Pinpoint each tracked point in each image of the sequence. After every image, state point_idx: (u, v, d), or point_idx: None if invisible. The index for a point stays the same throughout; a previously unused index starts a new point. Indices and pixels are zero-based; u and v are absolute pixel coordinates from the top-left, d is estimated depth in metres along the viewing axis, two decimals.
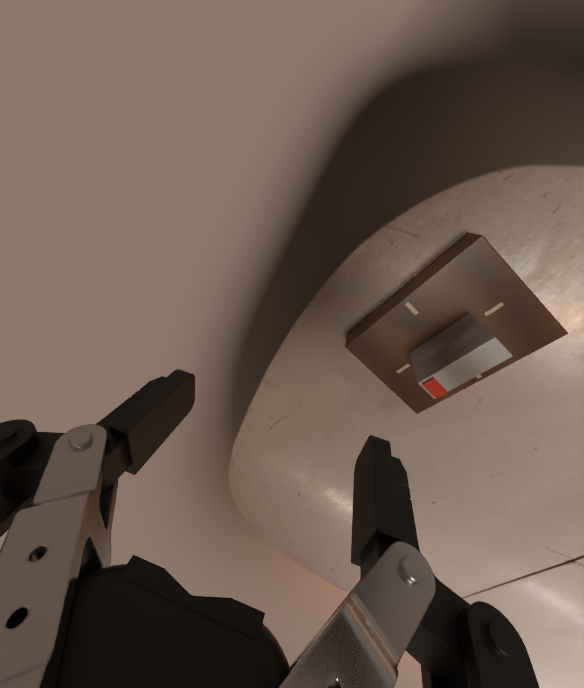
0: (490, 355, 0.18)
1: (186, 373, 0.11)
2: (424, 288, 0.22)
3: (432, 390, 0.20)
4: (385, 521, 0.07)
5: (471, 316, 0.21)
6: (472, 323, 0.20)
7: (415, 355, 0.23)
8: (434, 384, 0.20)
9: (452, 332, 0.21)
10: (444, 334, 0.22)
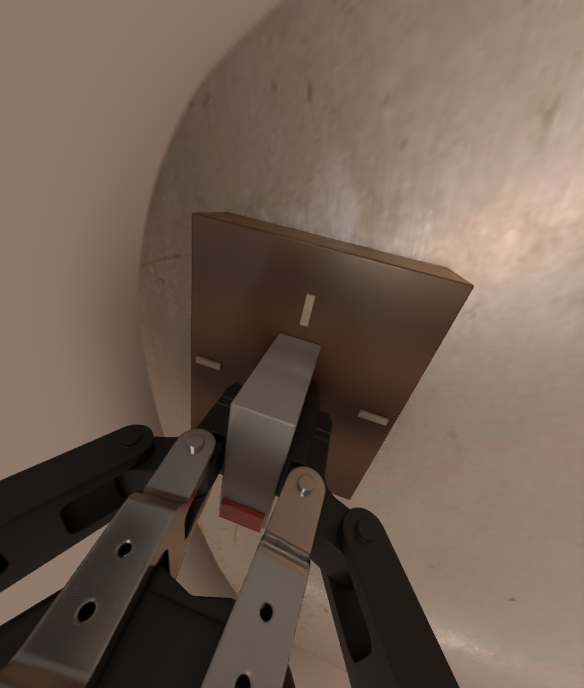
0: (258, 438, 0.08)
1: None
2: (198, 329, 0.13)
3: (238, 520, 0.10)
4: (297, 453, 0.09)
5: (273, 342, 0.11)
6: None
7: None
8: (232, 511, 0.10)
9: None
10: None
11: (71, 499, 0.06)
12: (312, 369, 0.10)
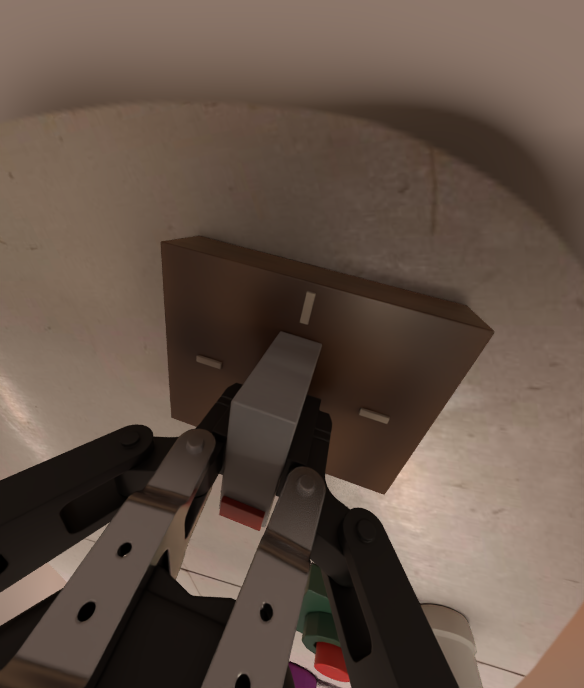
0: (259, 436, 0.08)
1: None
2: (354, 304, 0.10)
3: (238, 518, 0.10)
4: (297, 453, 0.09)
5: (274, 340, 0.11)
6: None
7: None
8: (232, 510, 0.10)
9: None
10: None
11: (71, 499, 0.06)
12: (313, 367, 0.10)
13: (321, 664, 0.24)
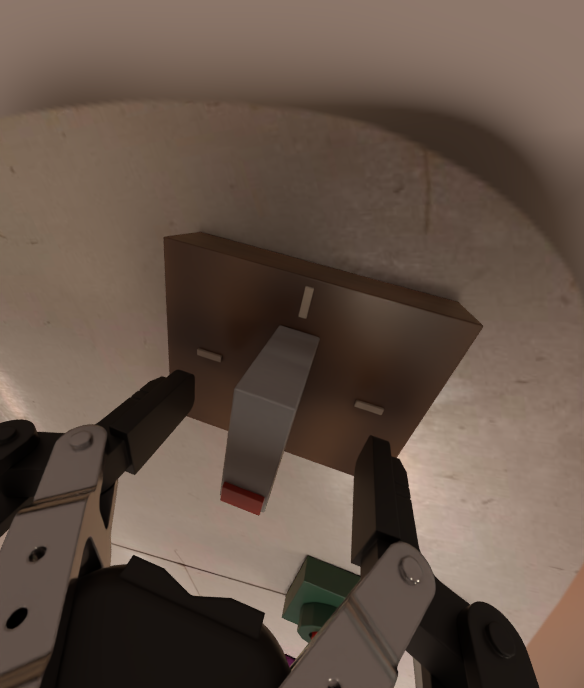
0: (260, 422, 0.08)
1: (186, 373, 0.11)
2: (351, 299, 0.11)
3: (239, 504, 0.10)
4: (385, 521, 0.07)
5: (273, 334, 0.11)
6: None
7: None
8: (233, 495, 0.10)
9: None
10: None
11: None
12: (311, 359, 0.10)
13: None
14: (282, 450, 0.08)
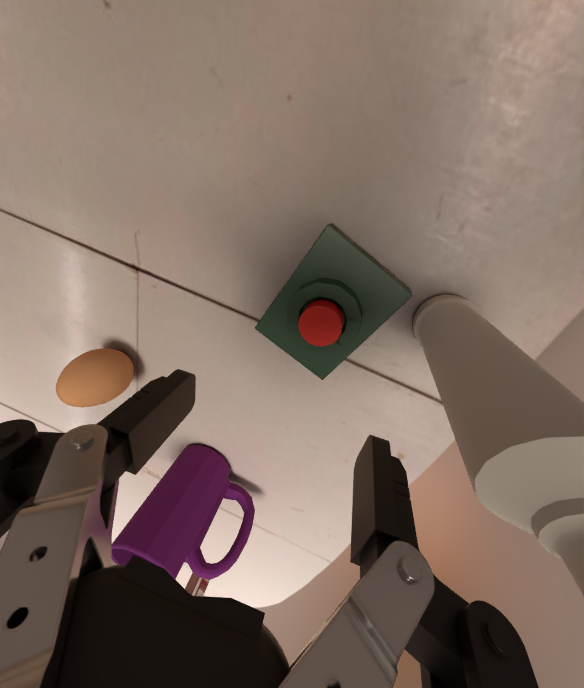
0: None
1: (187, 373, 0.11)
2: None
3: None
4: (384, 520, 0.07)
5: None
6: None
7: None
8: None
9: None
10: None
11: None
12: None
13: (314, 307, 0.20)
14: None
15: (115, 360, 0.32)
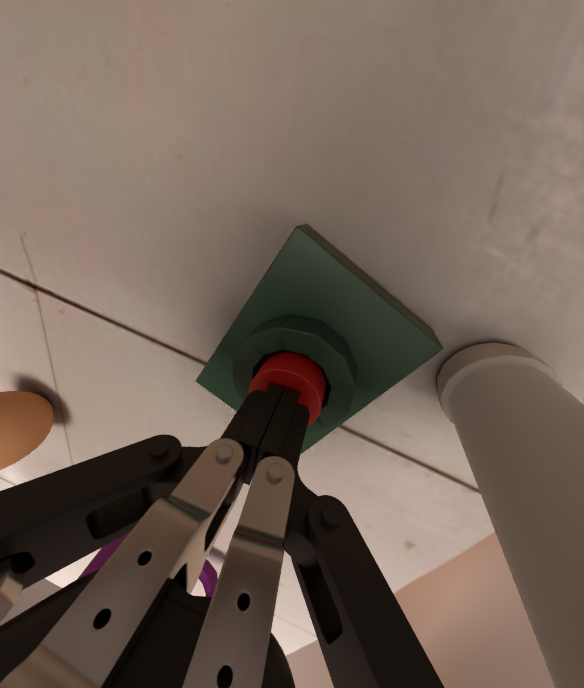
0: None
1: (280, 386, 0.11)
2: None
3: None
4: (270, 443, 0.09)
5: None
6: None
7: None
8: None
9: None
10: None
11: (97, 506, 0.06)
12: None
13: (272, 371, 0.11)
14: None
15: (16, 411, 0.23)
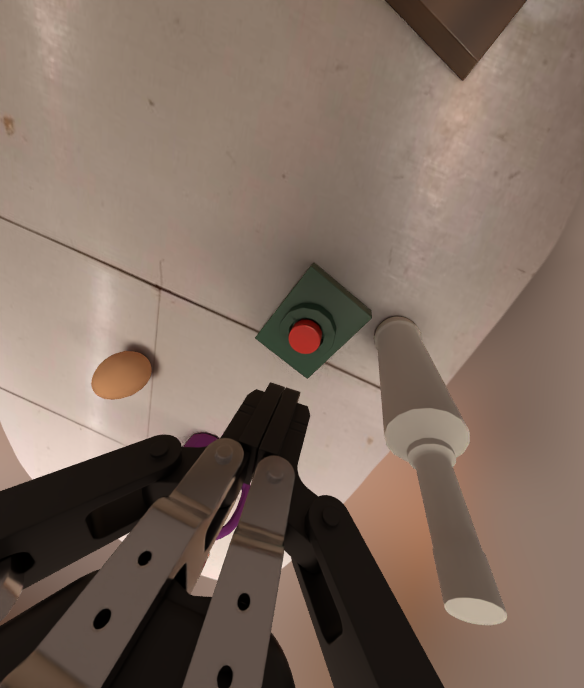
0: None
1: (280, 386, 0.11)
2: None
3: None
4: (270, 443, 0.09)
5: None
6: None
7: None
8: None
9: None
10: None
11: (97, 507, 0.06)
12: None
13: (300, 326, 0.28)
14: None
15: (138, 361, 0.39)
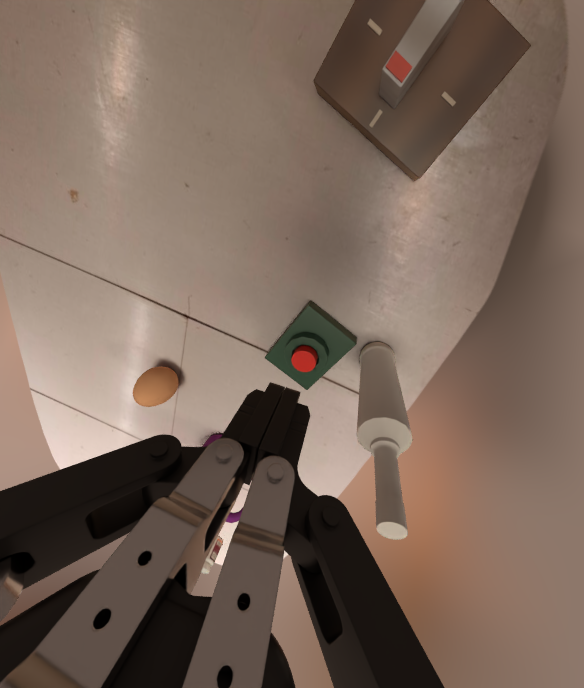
0: None
1: (280, 386, 0.11)
2: (480, 4, 0.20)
3: (396, 69, 0.19)
4: (270, 443, 0.09)
5: None
6: None
7: None
8: (397, 59, 0.19)
9: None
10: None
11: (97, 506, 0.06)
12: (457, 12, 0.19)
13: (300, 351, 0.36)
14: (446, 20, 0.18)
15: (169, 375, 0.48)
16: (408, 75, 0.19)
